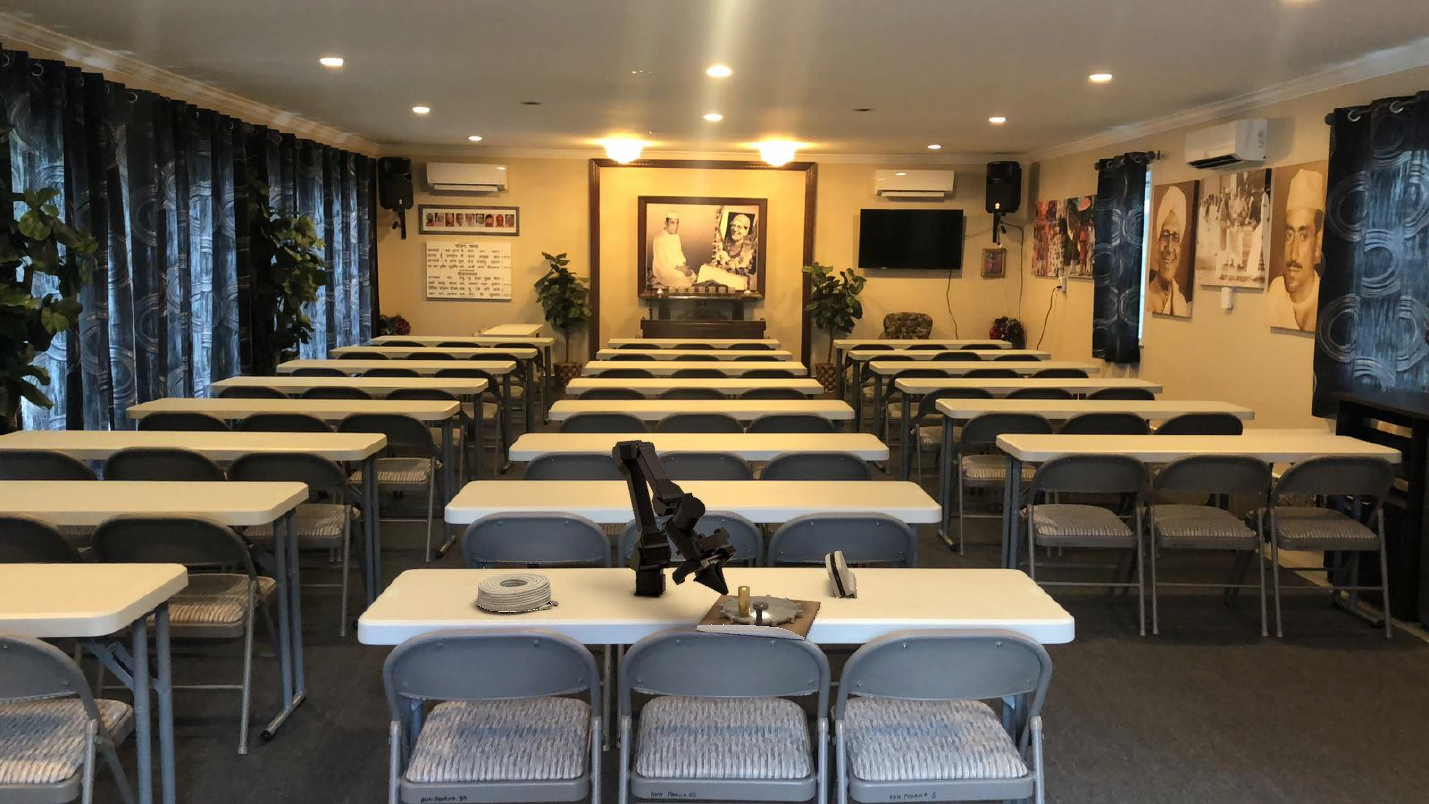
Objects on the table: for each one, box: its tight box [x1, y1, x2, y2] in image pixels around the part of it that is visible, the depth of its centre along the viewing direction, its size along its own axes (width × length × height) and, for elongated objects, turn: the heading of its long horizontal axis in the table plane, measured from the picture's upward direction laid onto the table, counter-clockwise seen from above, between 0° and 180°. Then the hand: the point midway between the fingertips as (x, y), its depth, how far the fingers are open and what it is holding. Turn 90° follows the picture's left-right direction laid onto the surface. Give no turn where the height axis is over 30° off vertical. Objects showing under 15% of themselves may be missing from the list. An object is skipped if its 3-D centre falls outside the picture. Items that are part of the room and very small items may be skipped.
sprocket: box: [719, 585, 803, 626], centre depth 241 cm, size 19×19×8 cm
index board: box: [697, 594, 822, 639], centre depth 242 cm, size 24×24×6 cm
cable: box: [475, 572, 560, 612], centre depth 253 cm, size 18×18×6 cm
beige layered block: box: [824, 550, 858, 599], centre depth 264 cm, size 17×5×10 cm, turn 174°
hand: (726, 594), depth 238 cm, fingers closed
